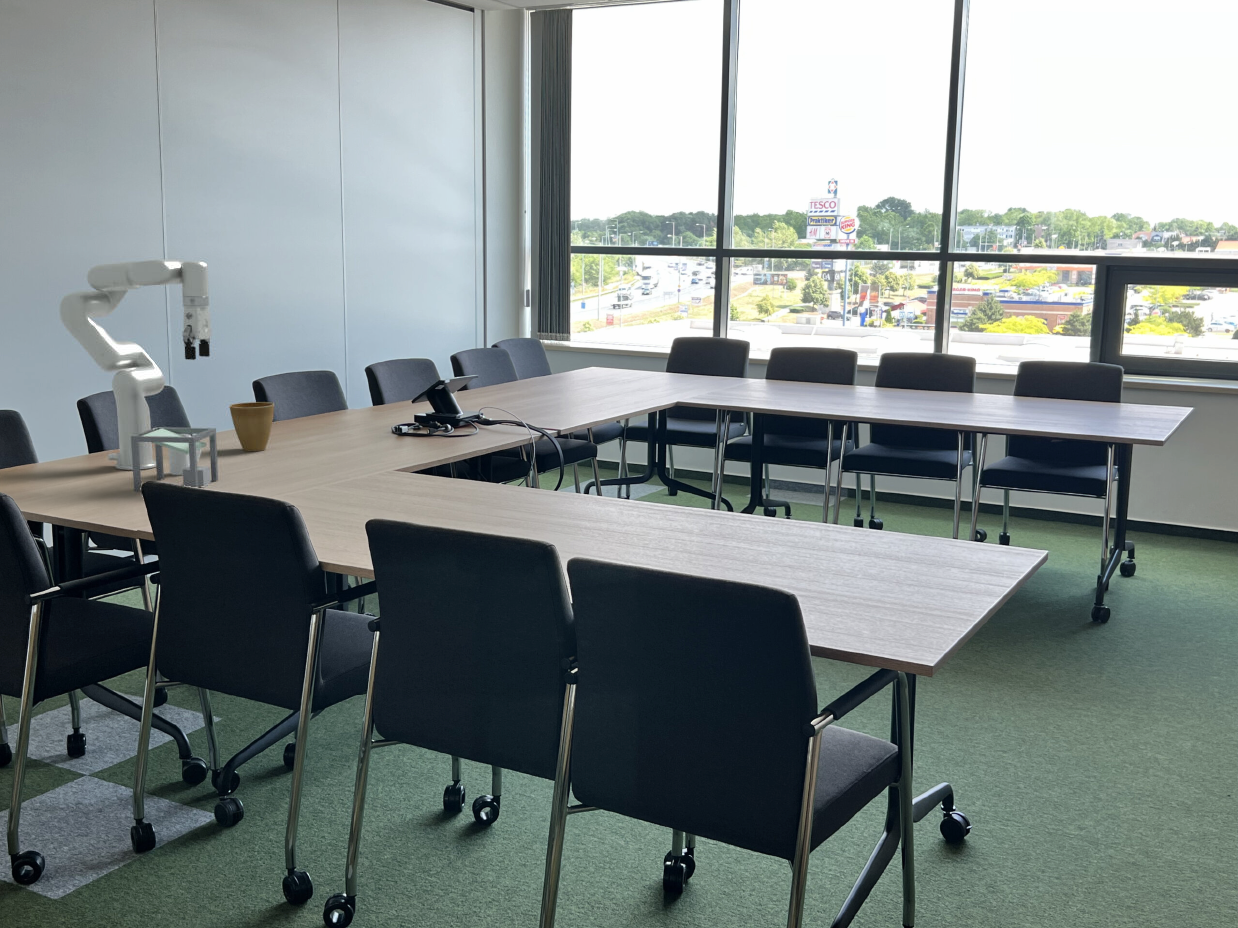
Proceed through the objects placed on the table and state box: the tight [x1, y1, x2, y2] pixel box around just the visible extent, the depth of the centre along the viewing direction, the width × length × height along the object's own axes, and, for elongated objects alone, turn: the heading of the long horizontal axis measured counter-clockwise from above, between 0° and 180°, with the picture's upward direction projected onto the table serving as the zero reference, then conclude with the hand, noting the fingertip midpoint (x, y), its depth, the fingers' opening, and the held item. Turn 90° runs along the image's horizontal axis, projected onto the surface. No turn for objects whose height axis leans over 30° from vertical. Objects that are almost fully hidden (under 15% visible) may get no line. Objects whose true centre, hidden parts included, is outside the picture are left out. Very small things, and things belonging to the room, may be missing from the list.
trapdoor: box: [143, 428, 208, 454], centre depth 337 cm, size 14×14×1 cm
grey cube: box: [182, 465, 212, 489], centre depth 339 cm, size 6×6×6 cm
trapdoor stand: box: [131, 426, 219, 492], centre depth 338 cm, size 18×18×16 cm
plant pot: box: [228, 401, 275, 452], centre depth 399 cm, size 15×15×16 cm
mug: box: [167, 433, 202, 476], centre depth 357 cm, size 10×7×12 cm, turn 131°
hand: (197, 358), depth 353 cm, fingers open, 9 cm apart
